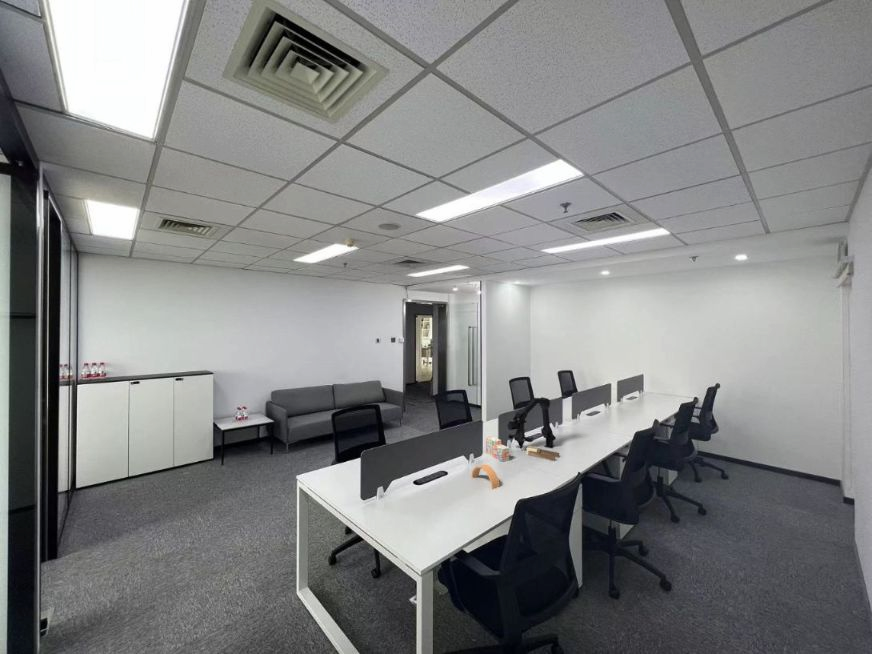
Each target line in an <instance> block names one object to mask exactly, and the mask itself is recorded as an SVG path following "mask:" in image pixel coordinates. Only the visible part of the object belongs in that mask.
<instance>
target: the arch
mask: <svg viewBox="0 0 872 654" xmlns="http://www.w3.org/2000/svg"><path fill="white" fill-rule="evenodd" d="M481 469H482V470H483V471H484V472H485V473H486V475H487V477H488V479H489V481H490V485H491V490H495V489H497V487H498V488H500V486H501V484H500V482H499V481H500V480H499V477H498V475H497V473H496V471H495V469H493V467H491V466H490V465H489V464H481V465H478V466H475V467H474V468H473V469H472V471H471V478H472V479H474V478H478V477H479V476H480V471H481ZM494 488H495V489H494Z"/></svg>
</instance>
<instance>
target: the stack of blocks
mask: <svg viewBox="0 0 872 654" xmlns="http://www.w3.org/2000/svg"><path fill="white" fill-rule="evenodd" d="M485 453H486V454H487V455H489V456H491V457H493V458H495V459H496V460H498V461H500V462H501V463H502V462H503V463H504V462H508V461H510V447H508V446H506V445H504V444H502V440H501V439H499V438H498V437H495V436H485Z"/></svg>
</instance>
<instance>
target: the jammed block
mask: <svg viewBox="0 0 872 654" xmlns="http://www.w3.org/2000/svg"><path fill="white" fill-rule="evenodd" d="M540 449H541V447H538V446H534V445H529V446H527V447H526V454H527V455H528V451H533V452H537V453H540Z"/></svg>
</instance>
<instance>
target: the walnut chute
mask: <svg viewBox="0 0 872 654" xmlns="http://www.w3.org/2000/svg"><path fill="white" fill-rule="evenodd" d="M527 456H530V457H534V458H538V459H544V460H549V461H553V462H555V461H556V458H560V452H557V451H551V450H547V449H541V448H540V453H537V452H533V451H528V454H527Z"/></svg>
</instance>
